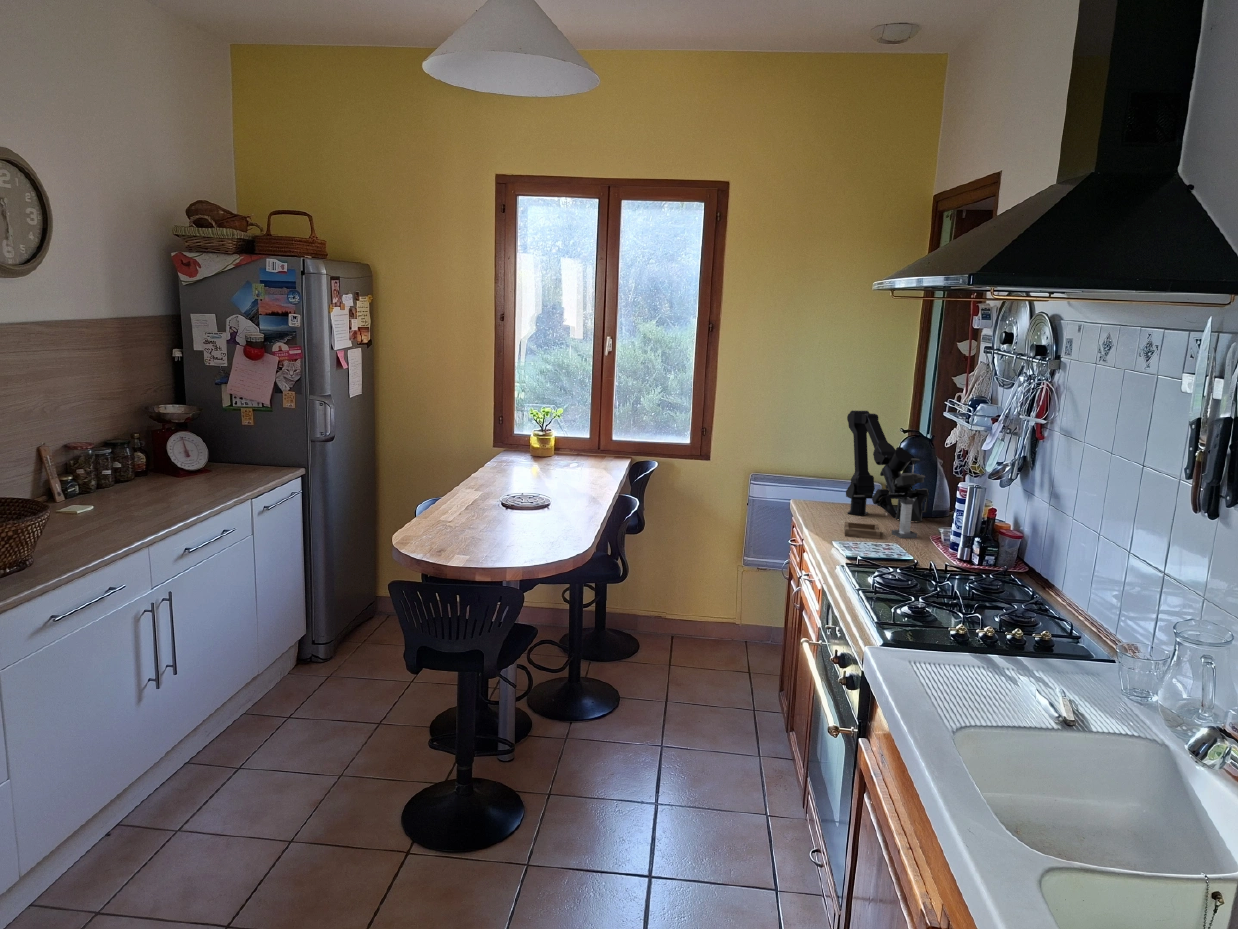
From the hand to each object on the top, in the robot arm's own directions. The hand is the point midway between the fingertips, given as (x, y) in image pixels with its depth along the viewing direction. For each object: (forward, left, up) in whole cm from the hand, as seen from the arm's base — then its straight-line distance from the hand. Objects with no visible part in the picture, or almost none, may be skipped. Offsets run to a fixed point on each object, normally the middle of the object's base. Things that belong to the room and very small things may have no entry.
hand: (907, 517), depth 295 cm
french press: (-29, -5, -7) cm, 30 cm away
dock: (+5, -14, -7) cm, 16 cm away
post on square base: (-1, -1, -7) cm, 7 cm away
